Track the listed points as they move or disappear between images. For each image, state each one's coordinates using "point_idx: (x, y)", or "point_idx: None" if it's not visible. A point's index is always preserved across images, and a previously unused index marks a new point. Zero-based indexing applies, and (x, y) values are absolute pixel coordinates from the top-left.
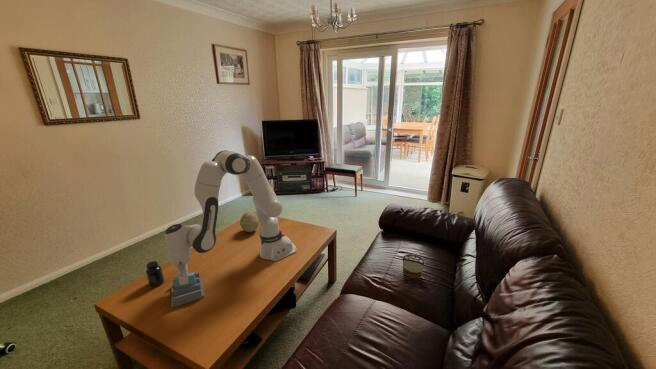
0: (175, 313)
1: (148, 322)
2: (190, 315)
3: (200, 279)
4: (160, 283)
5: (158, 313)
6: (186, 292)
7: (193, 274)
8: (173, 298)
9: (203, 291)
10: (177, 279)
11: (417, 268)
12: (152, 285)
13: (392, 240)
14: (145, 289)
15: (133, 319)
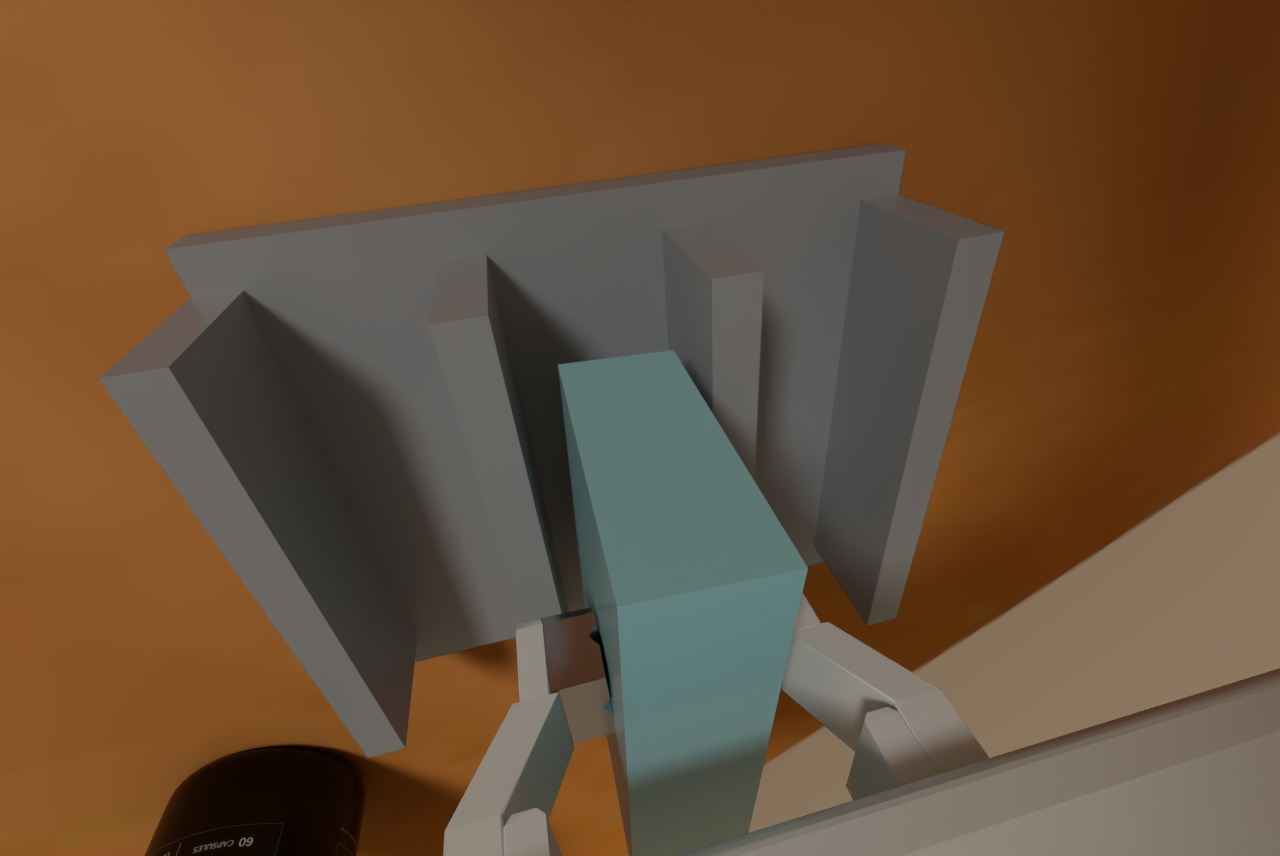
0: (937, 485)
1: (892, 646)
2: (1095, 323)
3: (300, 263)
4: (324, 775)
5: (830, 618)
6: None
7: (777, 584)
8: (889, 610)
9: (779, 166)
10: (749, 809)
11: None
12: (361, 821)
13: None
14: (386, 821)
15: (787, 737)
